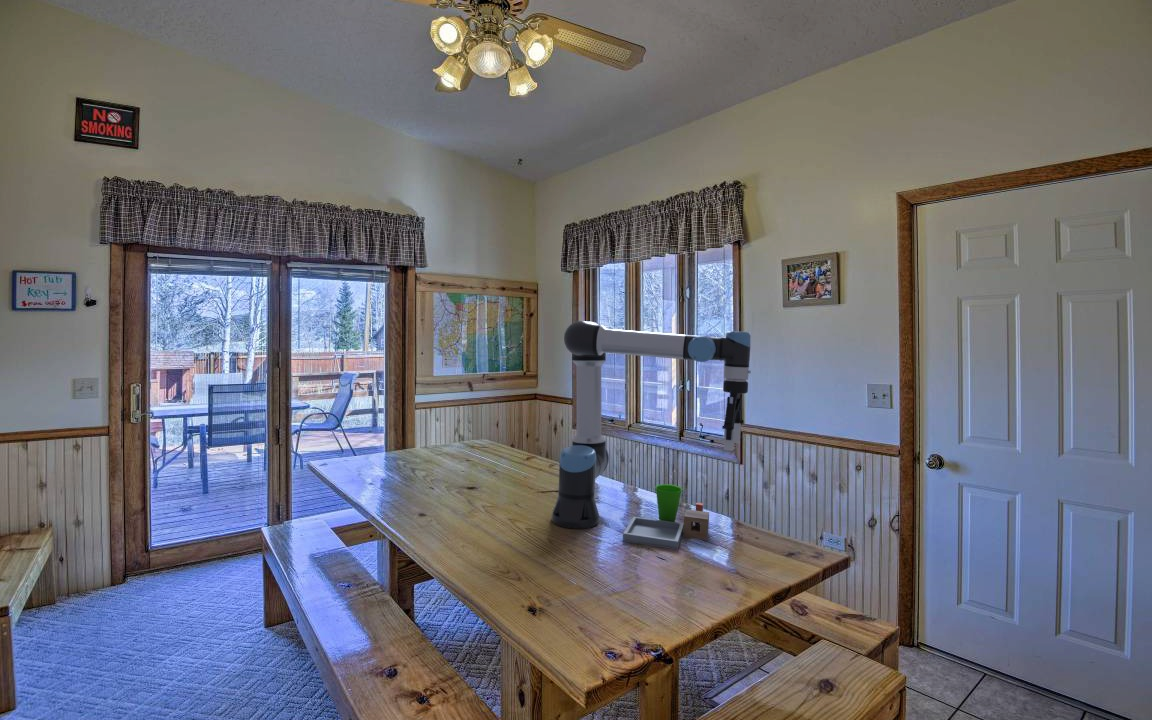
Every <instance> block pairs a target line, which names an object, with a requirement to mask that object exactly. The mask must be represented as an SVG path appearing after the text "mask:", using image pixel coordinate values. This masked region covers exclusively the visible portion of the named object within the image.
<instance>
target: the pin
mask: <svg viewBox="0 0 1152 720" xmlns="http://www.w3.org/2000/svg"><path fill="white" fill-rule="evenodd" d="M695 511H703V512H704V502H696V503H695ZM693 523H694V524H700V523H697V522H693Z"/></svg>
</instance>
